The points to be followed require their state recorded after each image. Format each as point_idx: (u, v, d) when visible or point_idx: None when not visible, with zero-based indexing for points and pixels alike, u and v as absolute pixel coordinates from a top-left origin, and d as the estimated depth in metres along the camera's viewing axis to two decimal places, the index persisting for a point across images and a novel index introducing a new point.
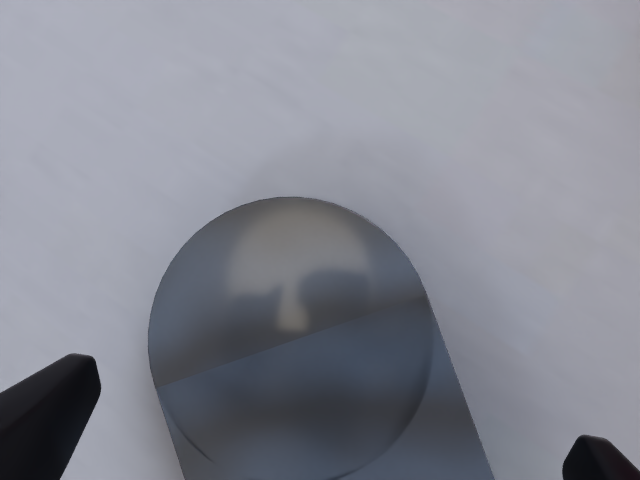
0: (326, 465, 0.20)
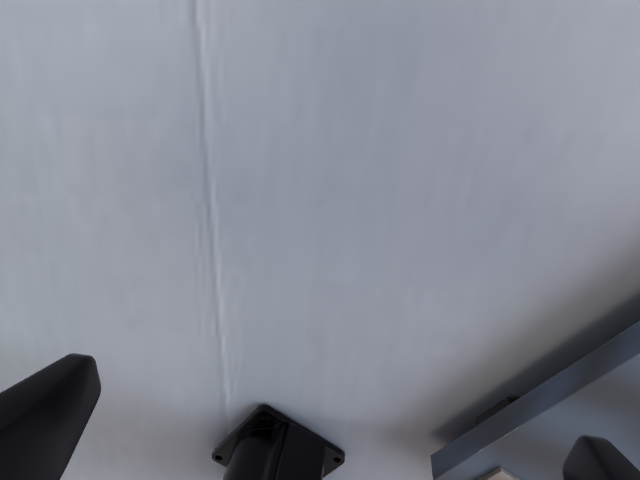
0: None
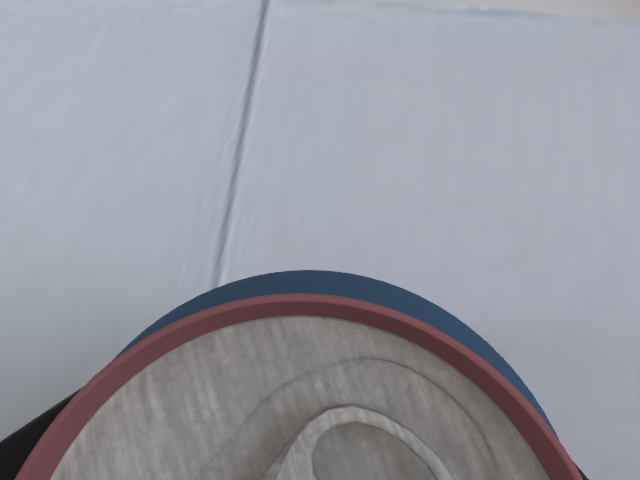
0: None
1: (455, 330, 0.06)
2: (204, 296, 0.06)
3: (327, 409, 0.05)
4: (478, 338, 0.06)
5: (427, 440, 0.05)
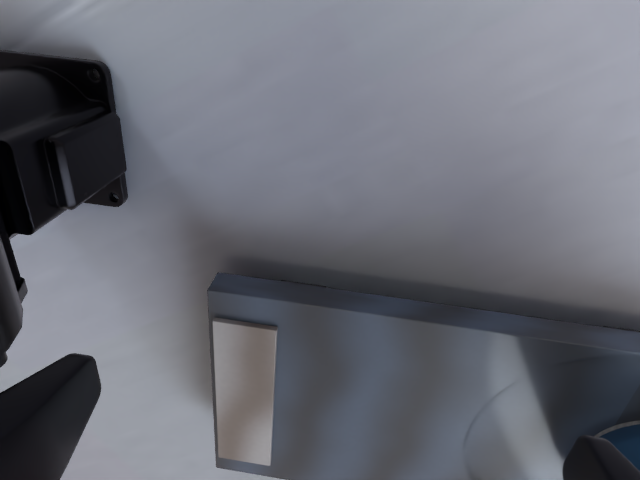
0: (482, 431, 0.22)
1: None
2: None
3: None
4: None
5: None
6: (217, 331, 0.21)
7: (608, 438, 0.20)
